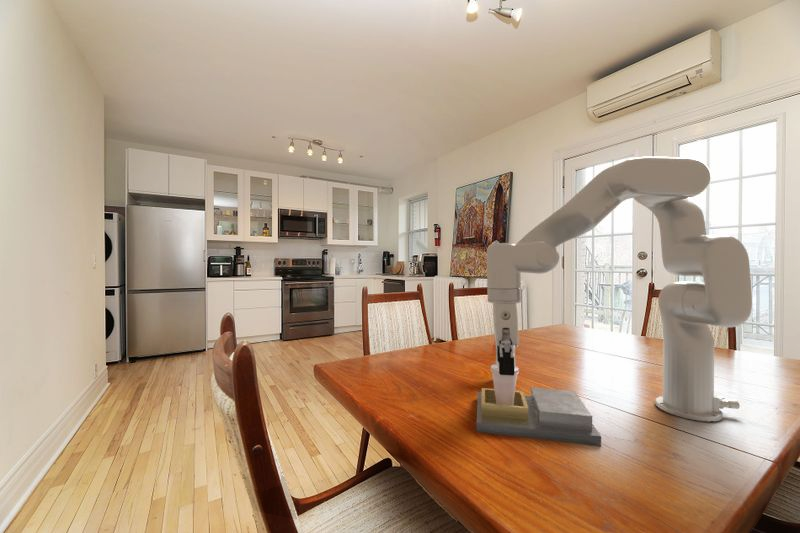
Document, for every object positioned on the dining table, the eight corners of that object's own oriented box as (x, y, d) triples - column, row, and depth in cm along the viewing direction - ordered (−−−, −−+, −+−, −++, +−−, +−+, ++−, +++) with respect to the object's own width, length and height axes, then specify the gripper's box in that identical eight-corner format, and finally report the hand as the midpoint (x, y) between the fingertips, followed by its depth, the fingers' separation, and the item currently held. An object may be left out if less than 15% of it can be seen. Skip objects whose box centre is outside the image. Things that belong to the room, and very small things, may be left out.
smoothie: (521, 406, 80) (521, 347, 80) (515, 416, 75) (514, 353, 75) (495, 400, 84) (494, 344, 84) (487, 409, 79) (486, 350, 78)
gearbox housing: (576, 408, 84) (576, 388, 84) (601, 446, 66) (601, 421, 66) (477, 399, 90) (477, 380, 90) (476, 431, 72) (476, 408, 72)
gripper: (525, 299, 70) (526, 381, 70) (517, 292, 87) (518, 358, 87) (488, 299, 72) (489, 379, 72) (487, 292, 89) (488, 357, 89)
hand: (505, 367), depth 79 cm, fingers open, 9 cm apart
